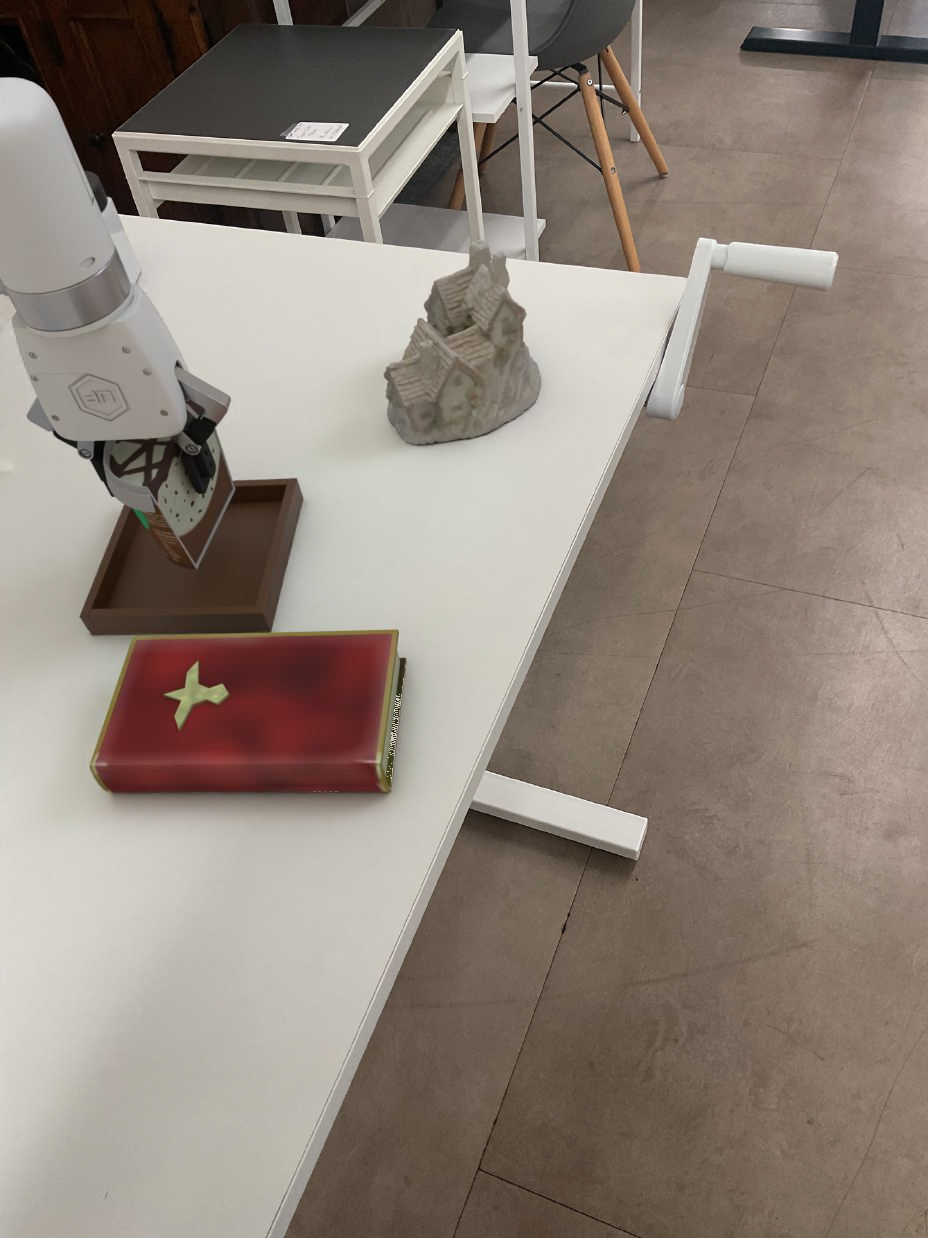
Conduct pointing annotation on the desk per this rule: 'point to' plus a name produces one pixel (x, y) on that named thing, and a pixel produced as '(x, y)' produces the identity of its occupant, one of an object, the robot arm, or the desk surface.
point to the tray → (199, 570)
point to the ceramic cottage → (464, 358)
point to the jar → (114, 227)
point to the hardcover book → (253, 713)
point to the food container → (169, 493)
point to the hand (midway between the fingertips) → (162, 481)
